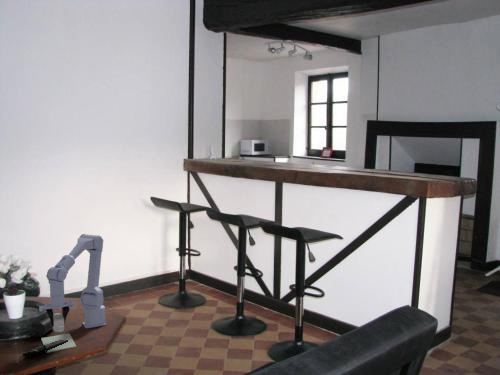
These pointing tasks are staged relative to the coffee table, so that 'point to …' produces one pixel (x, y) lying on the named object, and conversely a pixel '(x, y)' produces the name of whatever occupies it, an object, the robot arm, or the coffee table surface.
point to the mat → (56, 338)
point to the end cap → (41, 326)
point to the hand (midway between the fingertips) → (58, 324)
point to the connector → (58, 322)
